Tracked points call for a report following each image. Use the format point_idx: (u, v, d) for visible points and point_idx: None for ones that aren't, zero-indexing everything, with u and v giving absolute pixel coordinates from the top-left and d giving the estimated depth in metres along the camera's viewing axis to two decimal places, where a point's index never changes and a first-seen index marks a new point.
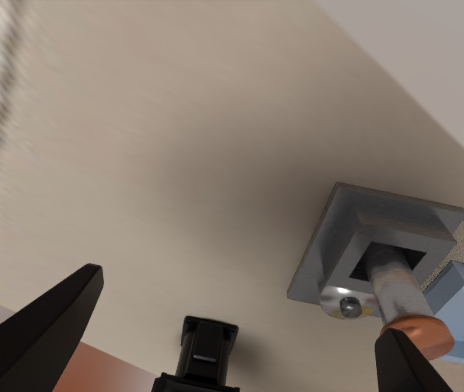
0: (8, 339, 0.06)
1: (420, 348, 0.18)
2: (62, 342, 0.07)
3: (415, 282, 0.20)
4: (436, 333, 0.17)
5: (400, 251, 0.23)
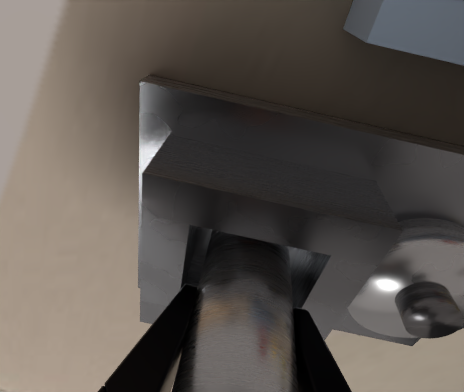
0: (142, 367, 0.06)
1: None
2: (176, 366, 0.08)
3: (189, 341, 0.07)
4: None
5: (210, 254, 0.10)
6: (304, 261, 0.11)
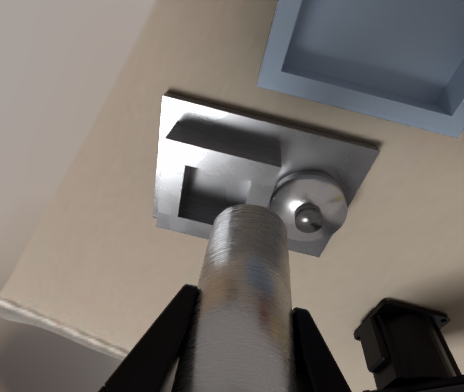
0: (141, 366, 0.06)
1: None
2: (176, 366, 0.08)
3: (188, 341, 0.07)
4: None
5: (209, 254, 0.10)
6: (246, 193, 0.20)
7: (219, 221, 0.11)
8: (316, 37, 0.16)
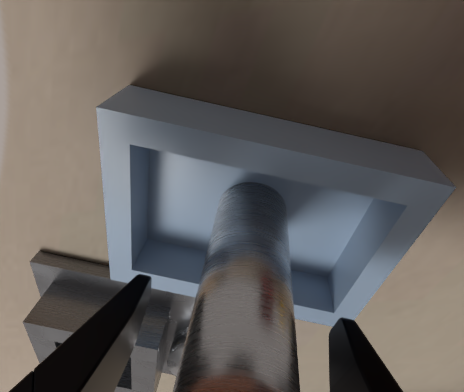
0: (77, 353, 0.06)
1: None
2: (121, 354, 0.08)
3: (201, 291, 0.09)
4: None
5: (217, 224, 0.11)
6: None
7: (225, 197, 0.12)
8: (179, 219, 0.14)
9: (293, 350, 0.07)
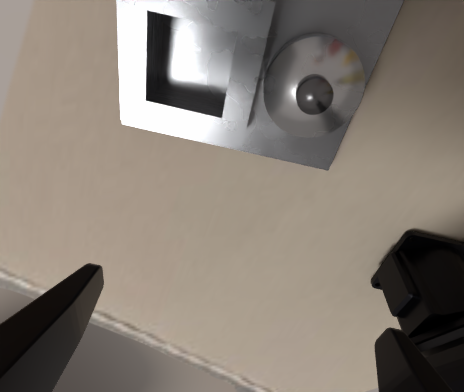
0: (8, 339, 0.06)
1: None
2: (62, 342, 0.07)
3: None
4: None
5: None
6: None
7: None
8: None
9: None
